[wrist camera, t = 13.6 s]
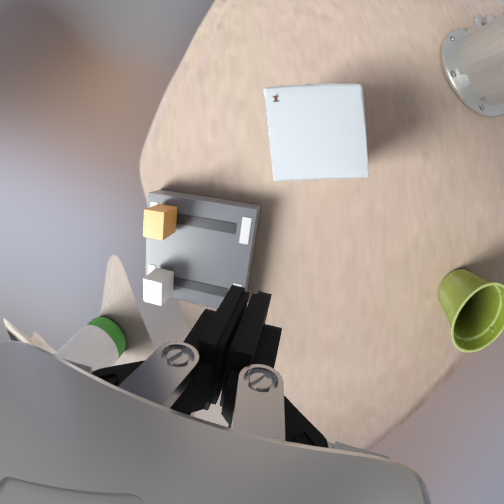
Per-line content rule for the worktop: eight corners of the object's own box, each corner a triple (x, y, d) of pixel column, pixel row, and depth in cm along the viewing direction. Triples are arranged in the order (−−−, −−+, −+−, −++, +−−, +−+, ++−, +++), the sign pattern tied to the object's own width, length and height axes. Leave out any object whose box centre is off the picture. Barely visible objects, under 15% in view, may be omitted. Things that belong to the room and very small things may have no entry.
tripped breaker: (158, 203, 32) (144, 209, 29) (177, 206, 32) (164, 212, 29) (157, 228, 33) (143, 236, 30) (175, 232, 33) (162, 240, 30)
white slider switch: (156, 267, 35) (143, 278, 32) (173, 271, 35) (161, 283, 31) (156, 288, 36) (143, 301, 33) (173, 293, 36) (161, 306, 32)
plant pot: (449, 328, 35) (472, 363, 27) (414, 296, 34) (438, 331, 26) (489, 281, 31) (520, 309, 23) (458, 243, 31) (492, 266, 23)
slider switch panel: (159, 189, 35) (148, 192, 33) (260, 205, 34) (256, 210, 31) (155, 281, 40) (145, 291, 37) (245, 302, 38) (240, 314, 35)
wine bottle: (122, 317, 43) (0, 446, 15) (133, 355, 46) (35, 483, 18) (88, 311, 44) (-30, 417, 16) (99, 347, 47) (1, 456, 19)
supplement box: (280, 173, 32) (268, 182, 21) (276, 110, 30) (260, 84, 18) (345, 171, 31) (370, 180, 19) (341, 108, 29) (362, 81, 17)
